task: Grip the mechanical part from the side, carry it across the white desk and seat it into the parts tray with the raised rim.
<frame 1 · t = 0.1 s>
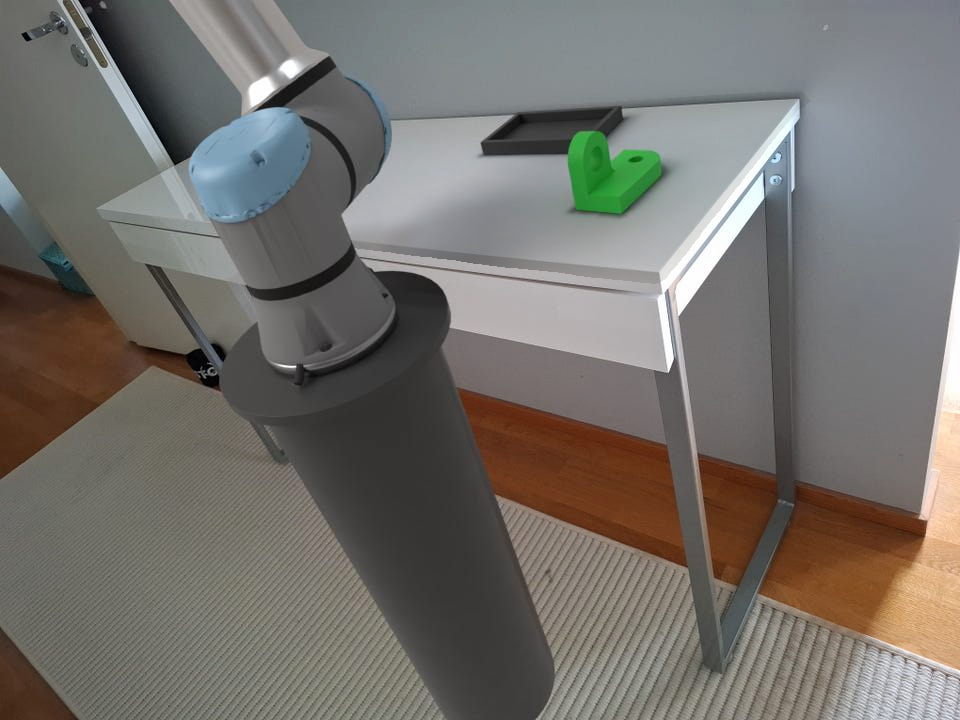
mechanical part: (624, 189, 79), on the table
parts tray: (552, 137, 98), on the table
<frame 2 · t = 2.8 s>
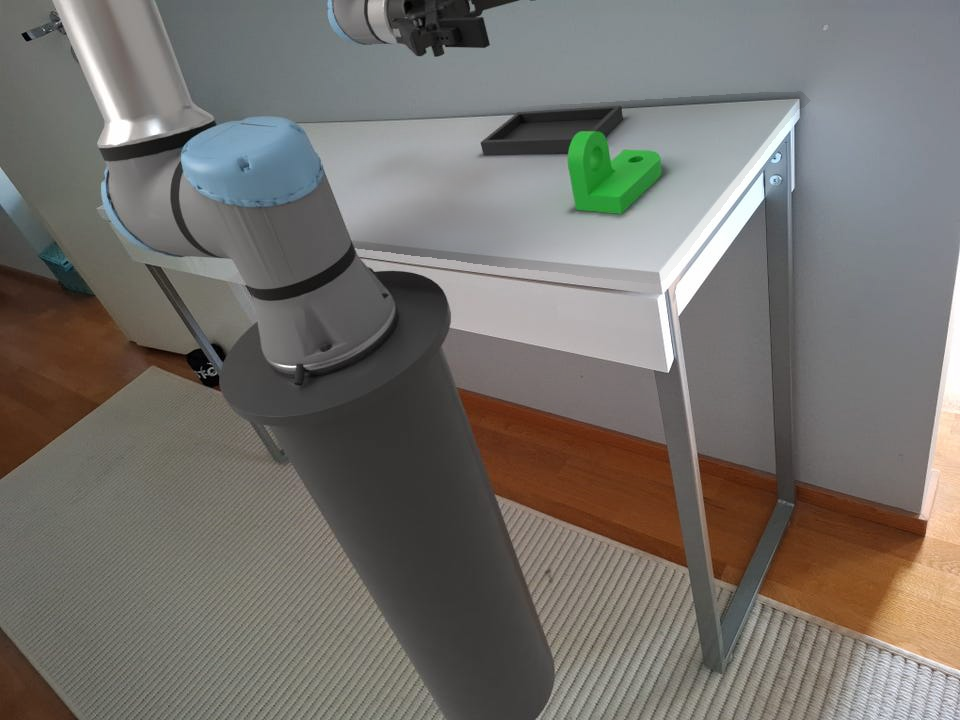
hand: (529, 7, 70), 21 cm above the table, tool horizontal, fingers open, 13 cm apart
nothing on the table moved.
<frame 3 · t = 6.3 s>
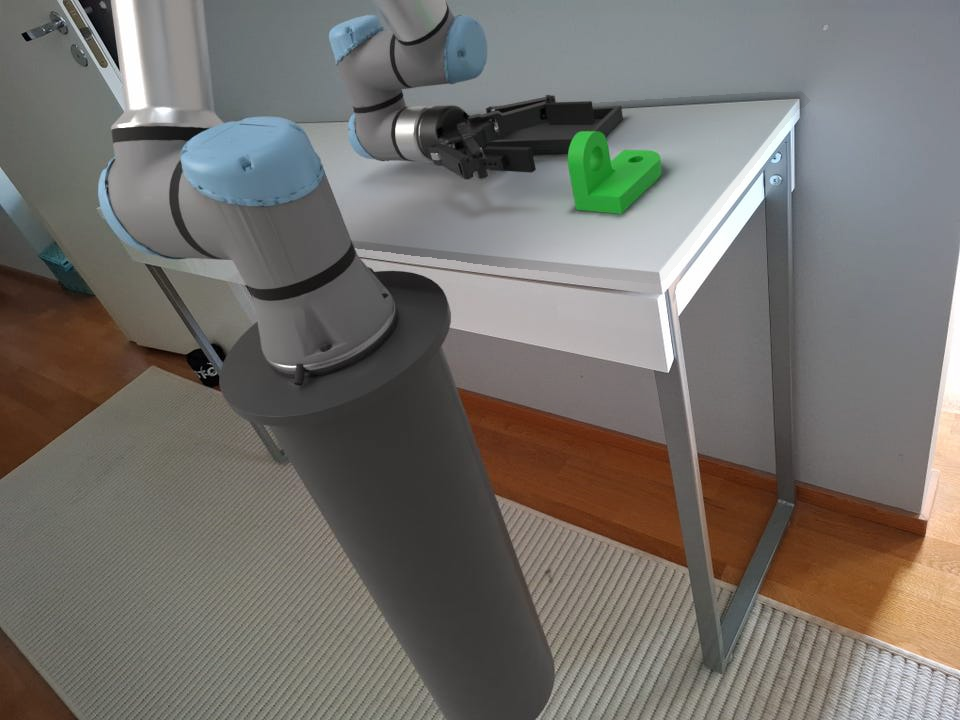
hand: (563, 135, 80), 6 cm above the table, tool horizontal, fingers open, 13 cm apart
nothing on the table moved.
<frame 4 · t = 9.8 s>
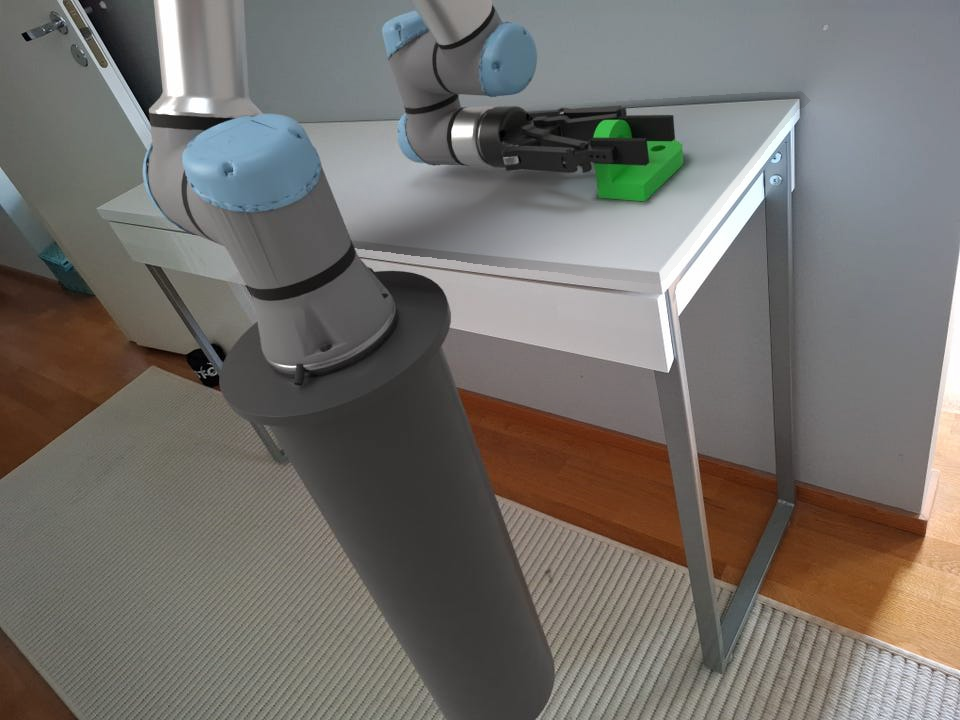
hand: (659, 139, 72), 6 cm above the table, tool horizontal, fingers closed on mechanical part, 5 cm apart
mechanical part: (646, 177, 80), on the table, touching gripper
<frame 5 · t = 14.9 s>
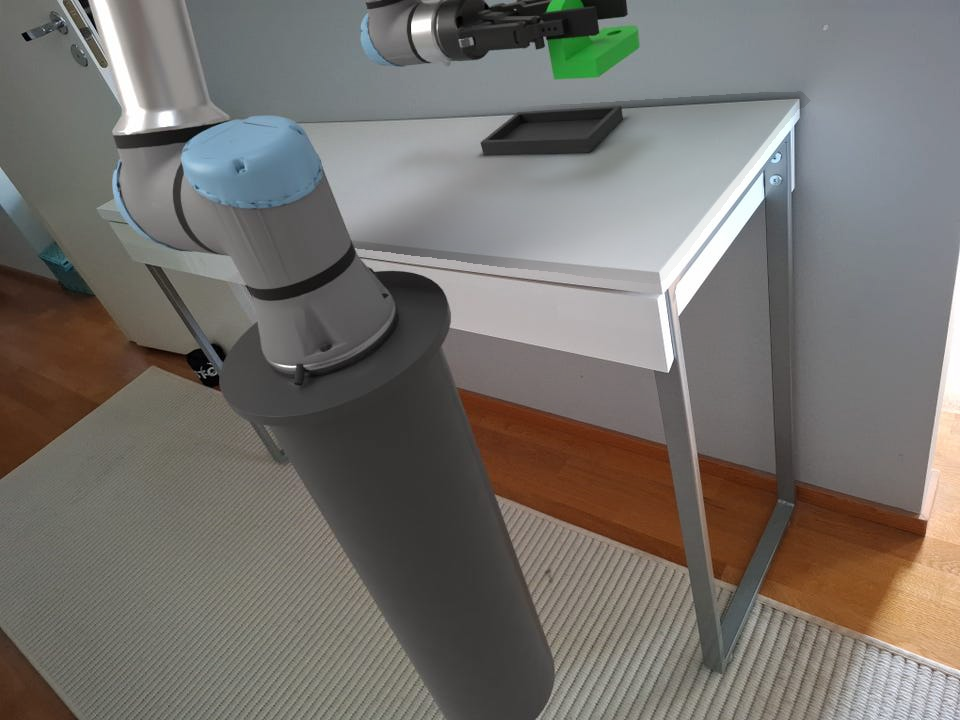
hand: (610, 11, 72), 18 cm above the table, tool horizontal, fingers closed on mechanical part, 5 cm apart
mechanical part: (602, 61, 80), point 12 cm above the table, touching gripper
when the fingers open (8 cm above the table, at t = 20.3 s): mechanical part stays where it is, resting on parts tray.
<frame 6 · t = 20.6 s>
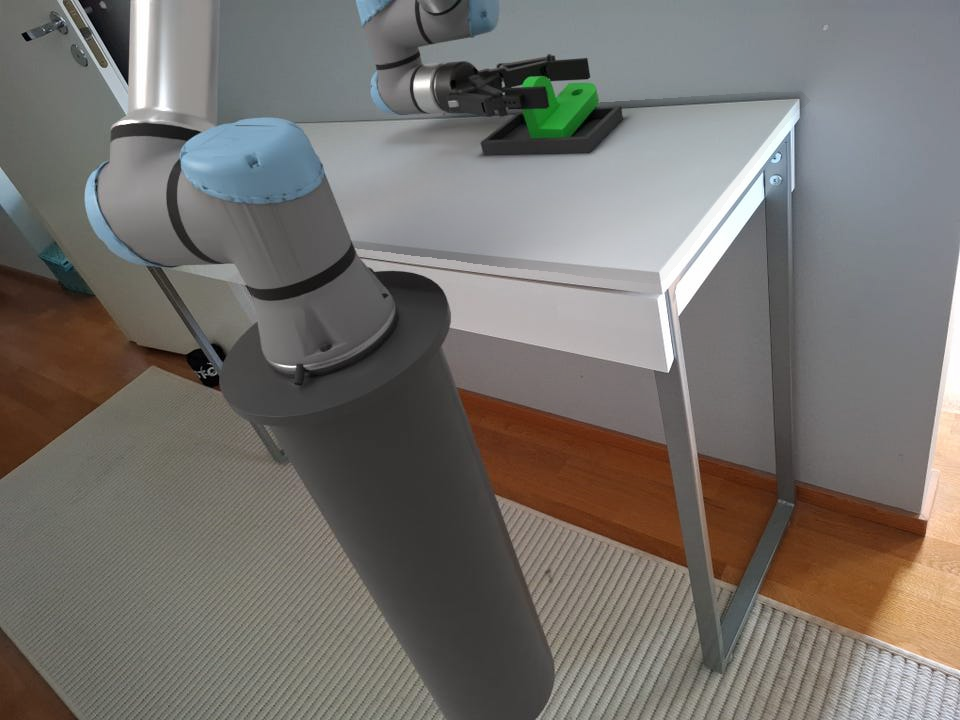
hand: (567, 82, 91), 8 cm above the table, tool horizontal, fingers open, 10 cm apart
mechanical part: (569, 118, 98), point 1 cm above the table, touching parts tray
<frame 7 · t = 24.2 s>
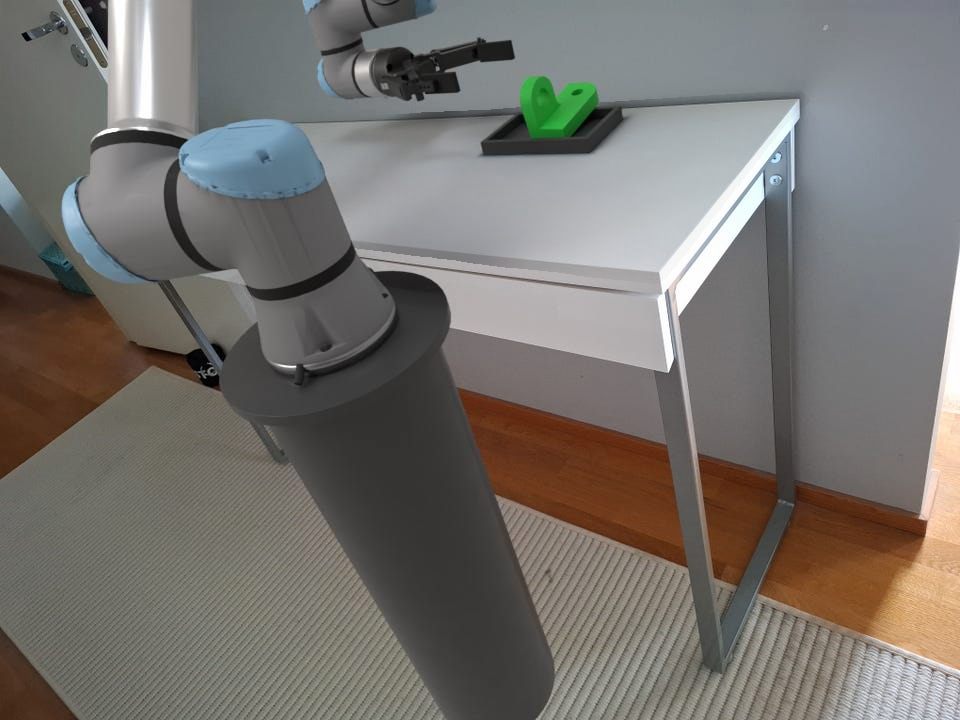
hand: (485, 65, 98), 11 cm above the table, tool horizontal, fingers open, 13 cm apart
nothing on the table moved.
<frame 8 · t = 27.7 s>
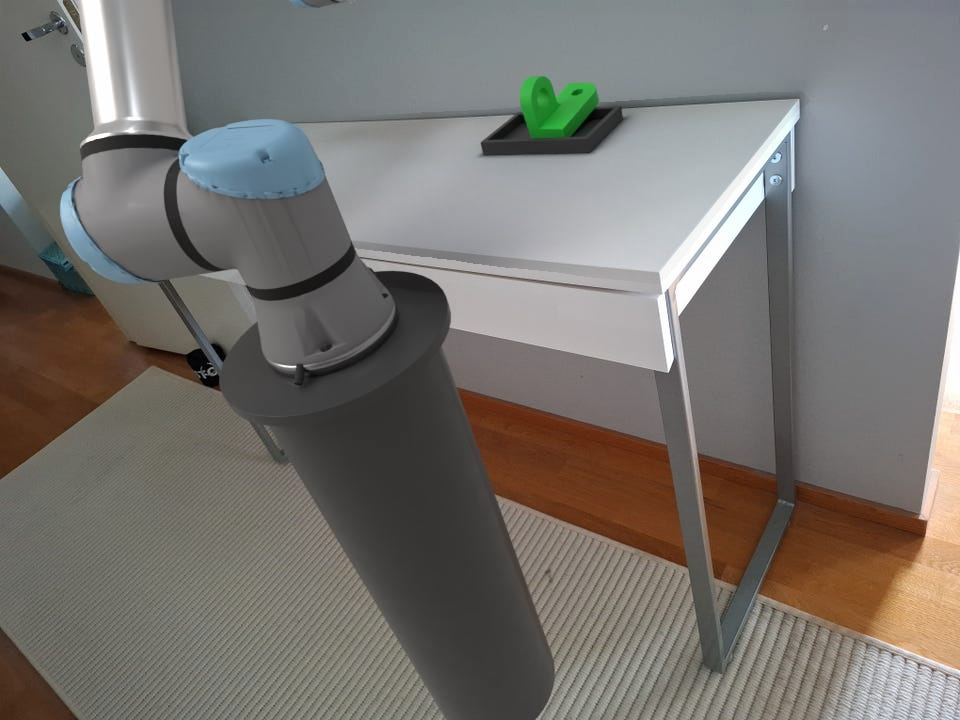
nothing on the table moved.
at the end: mechanical part inside the target area in the parts tray (3.6 cm from its centre), point 1.5 cm above the parts tray's base; mechanical part tilted 11°; the gripper is holding nothing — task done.
